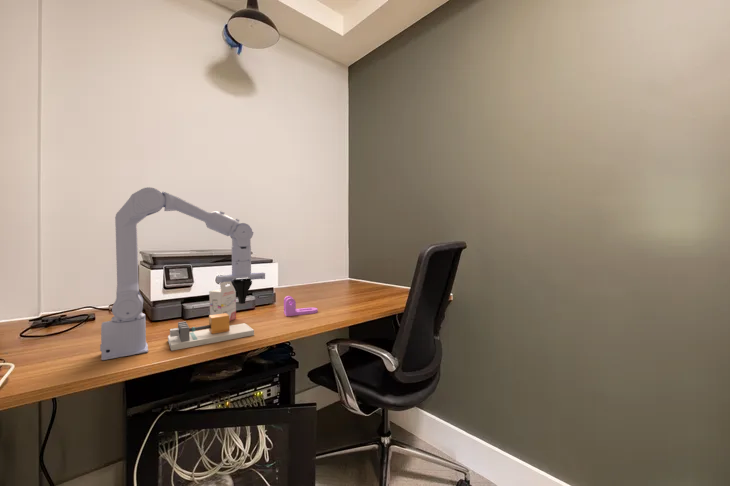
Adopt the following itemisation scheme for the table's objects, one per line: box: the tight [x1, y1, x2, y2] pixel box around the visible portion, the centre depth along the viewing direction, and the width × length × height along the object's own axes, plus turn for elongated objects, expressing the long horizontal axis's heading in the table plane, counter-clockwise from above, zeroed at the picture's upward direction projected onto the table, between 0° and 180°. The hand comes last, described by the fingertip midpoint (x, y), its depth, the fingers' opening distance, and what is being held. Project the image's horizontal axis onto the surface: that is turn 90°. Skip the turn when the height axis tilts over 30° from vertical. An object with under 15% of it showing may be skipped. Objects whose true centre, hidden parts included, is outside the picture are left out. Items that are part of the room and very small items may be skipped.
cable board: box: [167, 320, 255, 352], centre depth 94 cm, size 22×10×5 cm, turn 127°
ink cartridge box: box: [208, 281, 237, 322], centre depth 112 cm, size 9×5×15 cm, turn 168°
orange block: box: [208, 313, 230, 334], centre depth 95 cm, size 5×4×5 cm
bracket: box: [283, 295, 319, 317], centre depth 124 cm, size 13×6×7 cm, turn 113°
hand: (241, 303), depth 99 cm, fingers closed
